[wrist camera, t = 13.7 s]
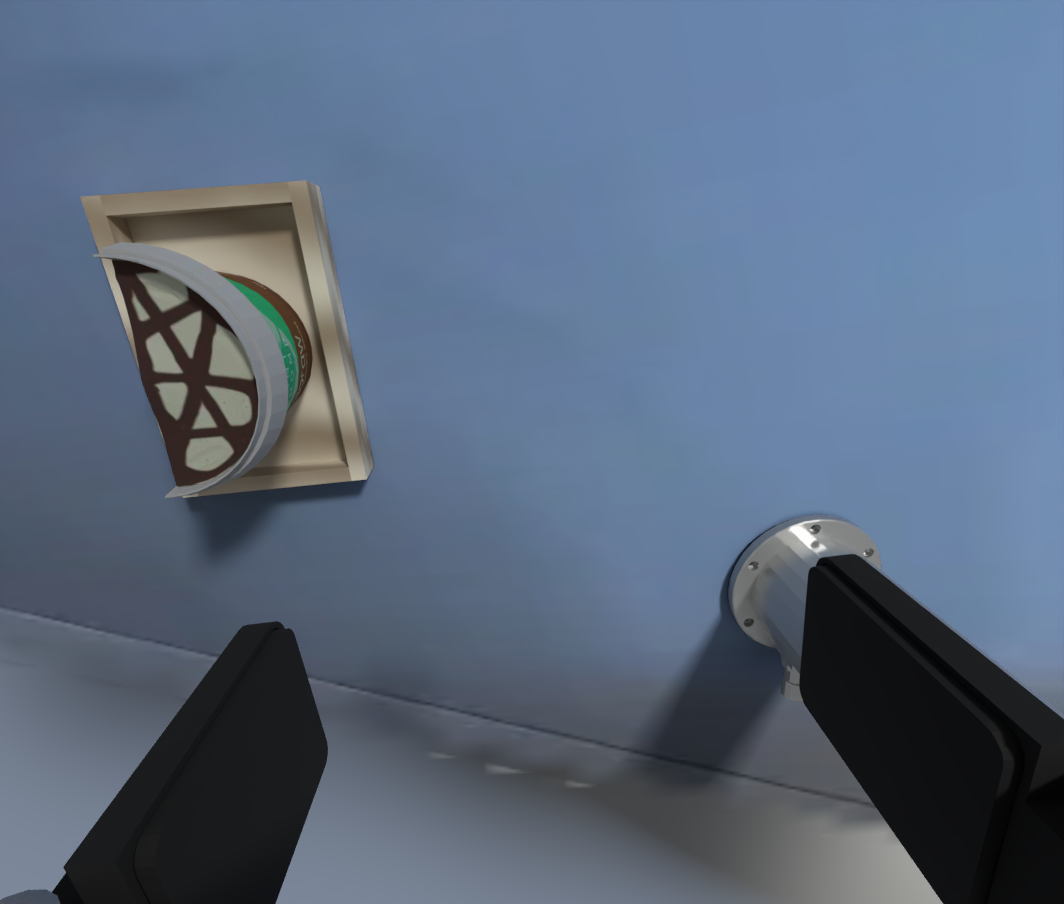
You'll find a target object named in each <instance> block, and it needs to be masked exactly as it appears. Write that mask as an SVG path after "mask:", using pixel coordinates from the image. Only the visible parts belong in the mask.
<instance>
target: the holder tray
mask: <svg viewBox="0 0 1064 904" xmlns="http://www.w3.org/2000/svg"><path fill="white" fill-rule="evenodd" d="M80 198H81V201H82V204H83V207H84V210H85V213H86V215H87V218H88V221H89V224H90V227H91V230H92V233H93V236H94V239H95V242H96V245H97V248H98V251H99V253H100V254H103V251H102V248H103V247H107V246H110V245H113V244H117V243H120V242H125V243H142V244H147V245H152V246H157V247H162V248H166V249H169V250H171V251H174V252H177V253H180V254H183V255H185V256H188V257H190V258H192V259H194V260H196V261H198V262H200V263H202V264H204V265H205V266H207V267H209V268H211V269H212V270H214V271H218V272H223V273H229V274H234V275H239V276H243V277H246V278H249V279H252V280H255V281H257V282H259V283H261V284H263V285H265V286H267V287H269V288H270V289H271V290H273V291H274V292H276V293H277V294H279V295H280V296H281V297H282V298H283V299H284V300H285V301H286V302H288V303H289V305H290V306H291V307H292V308H293V309H294V311H295V312H296V313H297V314H298V316H299V317H300V319H301V321H302V322H303V324H304V326H305V328H306V331H307V333H308V335H309V339H310V343H311V347H312V356H313V361H312V369H311V376H310V378H309V380H308V382H307V384H306V386H305V388H304V391H303V393H302V395H301V396H300V397H299V398H298V399H297V401H296V402H295V403H294V404H293V405H292V406H291V407H290V409H289V410H288V411H287V412H286V416H285V421H284V425H283V427H282V429H281V432H280V434H279V436H278V438H277V441H276V442H275V444H274V445H273V447H272V448H271V449H270V451H269V452H268V454H267V455H266V456H265V457H264V458H263V459H262V460H261V461H260V462H259V463H258V464H257V465H256V466H255V467H254V468H252V469H251V470H249V471H248V472H246V473H245V474H243V475H242V476H240V477H238V478H236V479H234V480H232V481H230V482H227V483H225V484H223V485H220V486H218V487H215V488H213V489H210V490H208V491H204V492H201V493H197V494H193V495H188V496H183V498H187V497H197V496H207V495H217V494H227V493H237V492H247V491H257V490H267V489H276V488H286V487H296V486H306V485H316V484H326V483H336V482H346V481H356V480H366V479H367V478H368V476H369V474H370V472H371V471H372V469H373V467H374V463H373V457H372V452H371V447H370V442H369V437H368V432H367V427H366V422H365V417H364V411H363V406H362V401H361V396H360V391H359V386H358V381H357V376H356V371H355V365H354V360H353V355H352V350H351V345H350V340H349V335H348V330H347V325H346V319H345V314H344V309H343V304H342V299H341V294H340V289H339V284H338V279H337V273H336V268H335V263H334V258H333V253H332V248H331V243H330V238H329V233H328V228H327V222H326V217H325V212H324V207H323V202H322V197H321V192H320V187H319V186H317V185H315V184H313V183H310V182H308V181H293V182H279V183H265V184H251V185H237V186H223V187H210V188H196V189H182V190H168V191H154V192H140V193H126V194H112V195H98V196H84V197H80ZM101 259H102V262H103V265H104V268H105V271H106V274H107V277H108V280H109V283H110V286H111V289H112V291H113V294H114V297H115V300H116V303H117V306H118V309H119V312H120V315H121V318H122V321H123V324H124V327H125V329H126V332H127V335H128V338H129V341H130V344H131V347H132V350H133V353H134V356H135V359H136V362H137V365H138V360H137V354H136V349H135V343H134V338H133V333H132V328H131V324H130V320H129V316H128V313H127V309H126V305H125V302H124V298H123V295H122V292H121V289H120V286H119V284H118V282H117V280H116V277H115V270H114V267H113V263H112V260H111V259H105V258H101ZM138 367H139V365H138ZM156 420H157V419H156ZM157 423H158V422H157ZM158 426H159V425H158ZM159 429H160V427H159ZM160 432H161V430H160ZM161 435H162V433H161ZM162 438H163V436H162ZM163 441H164V439H163Z"/></svg>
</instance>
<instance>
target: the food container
mask: <svg viewBox="0 0 1064 904" xmlns="http://www.w3.org/2000/svg"><path fill="white" fill-rule="evenodd" d="M102 251H103V254H93V257H99V258H105V259H111V260H112V263H113V267H114V270H115V277H116V280H117V282H118V284H119V286H120V289H121V292H122V295H123V298H124V302H125V305H126V309H127V313H128V316H129V320H130V324H131V328H132V333H133V338H134V343H135V349H136V354H137V360H138V365H139V370H140V374H141V379H142V383H143V386H144V389H145V392H146V394H147V397H148V400H149V402H150V405H151V407H152V410H153V412H154V415H155V417H156V419H157V422H158V425H159V427H160V430H161V433H162V436H163V439H164V443H165V446H166V450H167V453H168V456H169V460H170V463H171V467H172V471H173V474H174V478H175V481H176V485H177V486H175V487H174V488H173V489H172V490H171V491H170V492H169V493H168V494H167V495H166V496H165V498H170V497H180V496H188V495H193V494H197V493H201V492H204V491H208V490H210V489H213V488H215V487H218V486H220V485H223V484H225V483H227V482H230V481H232V480H234V479H236V478H238V477H240V476H242V475H243V474H245V473H246V472H248V471H249V470H251V469H252V468H254V467H255V466H256V465H257V464H258V463H259V462H260V461H261V460H262V459H263V458H264V457H265V456H266V455H267V454H268V452H269V451H270V449H271V448H272V447H273V445H274V444H275V442H276V441H277V438H278V436H279V434H280V432H281V429H282V427H283V425H284V421H285V416H286V412H287V411H288V410H289V409H290V407H291V406H292V405H293V404H294V403H295V402H296V401H297V399H298V398H299V397H300V396H301V395H302V393H303V391H304V388H305V386H306V384H307V382H308V380H309V378H310V376H311V369H312V361H313V356H312V347H311V343H310V339H309V335H308V333H307V331H306V328H305V326H304V324H303V322H302V321H301V319H300V317H299V316H298V314H297V313H296V312H295V311H294V309H293V308H292V307H291V306H290V305H289V303H288V302H286V301H285V300H284V299H283V298H282V297H281V296H280V295H279V294H277V293H276V292H274V291H273V290H271V289H270V288H269V287H267V286H265V285H263V284H261V283H259V282H257V281H255V280H252V279H249V278H246V277H243V276H239V275H234V274H229V273H223V272H218V271H214V270H212V269H211V268H209V267H207V266H205V265H204V264H202V263H200V262H198V261H196V260H194V259H192V258H190V257H188V256H185V255H183V254H180V253H177V252H174V251H171V250H169V249H166V248H162V247H157V246H152V245H147V244H142V243H125V242H120V243H117V244H113V245H110V246H107V247H103V248H102Z"/></svg>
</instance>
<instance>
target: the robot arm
mask: <svg viewBox="0 0 1064 904" xmlns="http://www.w3.org/2000/svg"><path fill="white" fill-rule="evenodd" d="M881 568H882V567H881V560H880V555H879V552H878V550H877V547H876V545H875V544H874V542H873V541H872V540H871V538H870V537H869V536H868V535H867V534H866V533H865V532H863V531H862V530H861V529H860V528H858V527H857V526H855V525H854V524H852V523H850V522H849V521H847V520H844V519H841V518H838V517H835V516H829V515H806V516H802V517H798V518H794V519H790V520H788V521H785V522H783V523H781V524H778V525H776V526H775V527H773V528H771V529H770V530H768V531H766V532H765V533H763V534H762V535H761V536H760V537H759V538H757V539H756V540H755V541H754V542H753V543H752V544H751V545H750V546H749V547H748V548H747V549H746V550H745V552H744V553H743V554H742V556H741V557H740V559H739V560H738V562H737V564H736V565H735V568H734V570H733V573H732V575H731V578H730V583H729V589H728V598H729V605H730V609H731V612H732V614H733V616H734V618H735V620H736V621H737V623H738V624H739V626H740V627H741V628H742V630H743V631H744V632H745V633H746V634H747V635H748V636H749V637H751V638H752V639H753V640H754V641H756V642H758V643H760V644H762V645H764V646H768V647H772V648H776V649H777V651H778V652H779V653H780V655H781V663H782V666H784V667H785V669H784V672H783V677H782V685H781V693H782V694H783V696H784V697H785V698H787V699H788V700H790V701H793V702H802V701H803V702H804V704H805V706H806V707H807V709H808V710H809V712H810V713H811V715H812V716H813V717H814V719H815V720H816V722H817V723H818V725H819V726H820V727H821V729H822V730H823V732H824V733H825V735H826V736H827V738H828V739H829V740H830V742H831V743H832V745H833V746H834V748H835V749H836V750H837V752H838V753H839V755H840V756H841V758H842V759H843V760H844V762H845V763H846V765H847V766H848V768H849V769H850V771H851V772H852V773H853V775H854V776H855V778H856V779H857V781H858V782H859V783H860V785H861V786H862V788H863V789H864V791H865V792H866V793H867V795H868V796H869V798H870V799H871V801H872V802H873V804H874V805H875V806H876V808H877V809H878V811H879V812H880V814H881V815H882V816H883V818H884V819H885V821H886V822H887V824H888V825H889V826H890V828H891V829H892V831H893V832H894V834H895V835H896V837H897V838H898V839H899V841H900V842H901V844H902V845H903V847H904V848H905V849H906V851H907V852H908V854H909V855H910V857H911V858H912V859H913V861H914V862H915V864H916V865H917V867H918V868H919V870H920V871H921V872H922V874H923V875H924V877H925V878H926V880H927V881H928V882H929V884H930V885H931V887H932V888H933V890H934V891H935V892H936V894H937V895H938V897H939V898H940V900H941V901H942V902H943V904H1064V714H1063V713H1061V712H1060V711H1059V710H1057V709H1056V708H1055V707H1054V706H1052V705H1051V704H1050V703H1048V702H1047V701H1046V700H1045V699H1043V698H1042V697H1041V696H1039V695H1038V694H1037V693H1036V692H1034V691H1033V690H1032V689H1031V688H1029V687H1028V686H1027V685H1025V684H1024V683H1023V682H1021V681H1020V680H1019V679H1018V678H1016V677H1015V676H1014V675H1013V674H1011V673H1010V672H1009V671H1008V670H1006V669H1005V668H1004V667H1002V666H1001V665H1000V664H999V663H997V662H996V661H995V660H994V659H992V658H991V657H990V656H989V655H987V654H986V653H985V652H983V651H982V650H981V649H980V648H978V647H977V646H976V645H975V644H973V643H972V642H971V641H970V640H968V639H967V638H966V637H964V636H963V635H962V634H961V633H959V632H958V631H957V630H956V629H954V628H953V627H952V626H951V625H949V624H948V623H947V622H945V621H944V620H943V619H942V618H940V617H939V616H938V615H937V614H935V613H934V612H933V611H932V610H930V609H929V608H928V607H926V606H925V605H924V604H923V603H921V602H920V601H919V600H918V599H916V598H915V597H914V596H913V595H911V594H910V593H909V592H907V591H906V590H905V589H904V588H902V587H901V586H900V585H899V584H897V583H896V582H895V581H894V580H892V579H891V578H890V577H888V576H887V575H886V574H885V573H883V572H882V571H881ZM327 754H328V747H327V740H326V737H325V733H324V730H323V727H322V724H321V720H320V717H319V714H318V710H317V707H316V704H315V700H314V697H313V694H312V691H311V687H310V684H309V681H308V677H307V674H306V671H305V667H304V664H303V661H302V658H301V654H300V651H299V648H298V644H297V641H296V638H295V635H294V632H293V631H292V630H291V629H289V628H288V629H285V628H284V626H283V625H282V624H281V623H280V622H277V621H276V622H268V623H259V624H251V625H245V626H243V627H242V628H241V629H240V630H239V631H238V632H237V634H236V635H235V636H234V638H233V639H232V640H231V642H230V643H229V644H228V646H227V647H226V648H225V650H224V651H223V652H222V654H221V655H220V657H219V658H218V659H217V661H216V662H215V663H214V665H213V666H212V667H211V669H210V670H209V671H208V673H207V674H206V675H205V677H204V678H203V679H202V681H201V682H200V683H199V685H198V686H197V688H196V689H195V690H194V692H193V693H192V694H191V696H190V697H189V698H188V700H187V701H186V702H185V704H184V705H183V706H182V708H181V709H180V710H179V712H178V713H177V715H176V716H175V717H174V719H173V720H172V721H171V723H170V724H169V725H168V727H167V728H166V729H165V731H164V732H163V733H162V735H161V736H160V737H159V739H158V740H157V742H156V743H155V744H154V746H153V747H152V748H151V750H150V751H149V752H148V754H147V755H146V756H145V758H144V759H143V760H142V762H141V763H140V764H139V766H138V767H137V769H136V770H135V771H134V773H133V774H132V775H131V777H130V778H129V780H128V781H127V782H126V783H125V785H124V786H123V787H122V789H121V790H120V791H119V793H118V794H117V795H116V797H115V798H114V800H113V801H112V802H111V804H110V805H109V806H108V808H107V809H106V810H105V812H104V813H103V814H102V816H101V817H100V818H99V820H98V821H97V822H96V824H95V825H94V826H93V828H92V829H91V831H90V832H89V833H88V835H87V836H86V837H85V839H84V840H83V841H82V843H81V844H80V846H79V847H78V848H77V849H76V851H75V852H74V854H73V855H72V856H71V857H70V859H69V860H68V861H67V863H66V864H65V866H64V869H65V871H66V874H65V875H64V876H63V878H62V879H61V881H60V882H59V883H58V885H57V886H56V887H55V889H54V890H53V892H52V893H51V892H50V891H48V890H27V891H24V892H21V893H17V894H14V895H11V896H8V897H5V898H3V899H1V900H0V904H275V903H276V900H277V898H278V895H279V892H280V889H281V887H282V884H283V881H284V878H285V876H286V873H287V870H288V867H289V865H290V862H291V859H292V856H293V854H294V851H295V848H296V845H297V843H298V840H299V837H300V834H301V832H302V829H303V826H304V823H305V820H306V817H307V815H308V812H309V809H310V807H311V804H312V801H313V798H314V796H315V793H316V790H317V787H318V785H319V782H320V779H321V776H322V773H323V771H324V768H325V765H326V761H327Z"/></svg>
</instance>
